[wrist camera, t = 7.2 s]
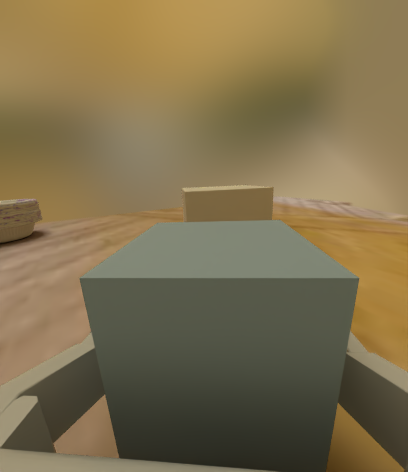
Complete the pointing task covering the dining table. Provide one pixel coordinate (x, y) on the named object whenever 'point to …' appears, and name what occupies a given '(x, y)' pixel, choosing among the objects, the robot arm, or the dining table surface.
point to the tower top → (227, 203)
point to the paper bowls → (18, 218)
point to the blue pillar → (222, 344)
